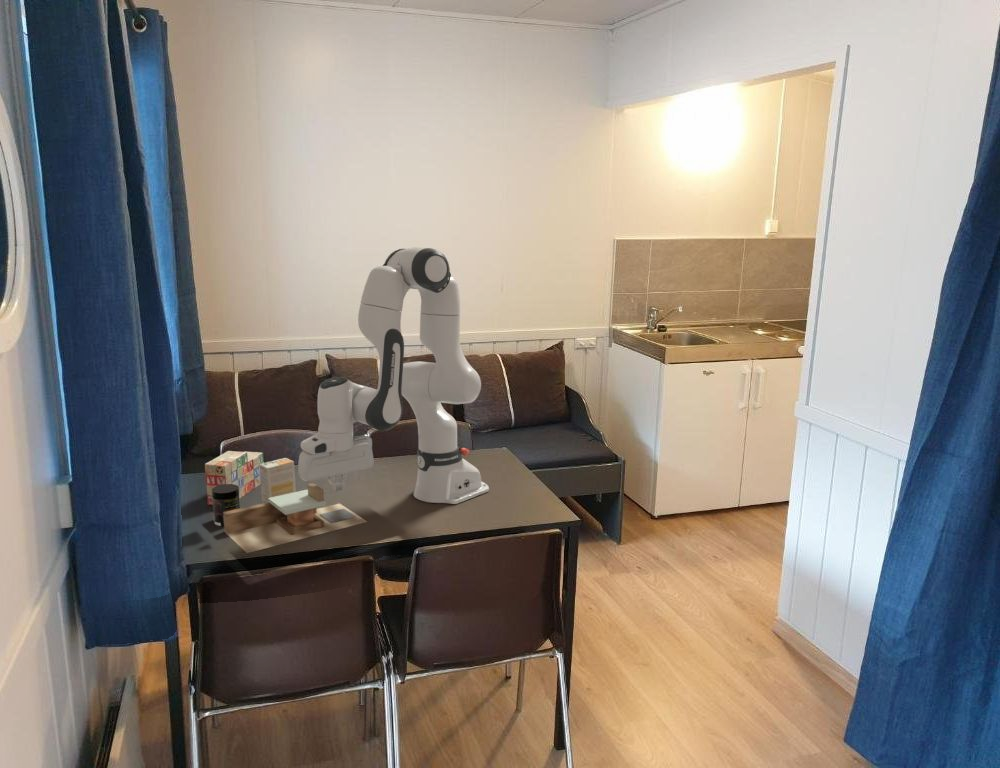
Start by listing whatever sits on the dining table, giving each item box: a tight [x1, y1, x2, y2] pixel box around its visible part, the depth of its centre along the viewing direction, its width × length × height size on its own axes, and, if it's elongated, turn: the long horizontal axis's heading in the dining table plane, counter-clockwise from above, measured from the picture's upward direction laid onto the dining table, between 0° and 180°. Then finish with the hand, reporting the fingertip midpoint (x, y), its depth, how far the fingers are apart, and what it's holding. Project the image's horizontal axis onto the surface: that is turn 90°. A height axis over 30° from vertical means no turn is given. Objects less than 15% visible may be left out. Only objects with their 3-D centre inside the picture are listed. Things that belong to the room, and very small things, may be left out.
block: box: [287, 509, 314, 527], centre depth 200 cm, size 5×5×5 cm
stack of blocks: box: [204, 450, 265, 506], centre depth 226 cm, size 21×6×12 cm, turn 168°
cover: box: [268, 482, 327, 515], centre depth 200 cm, size 11×11×4 cm
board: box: [223, 502, 368, 554], centre depth 200 cm, size 32×16×7 cm, turn 128°
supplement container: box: [212, 484, 241, 527], centre depth 202 cm, size 7×7×10 cm
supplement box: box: [259, 457, 297, 504], centre depth 215 cm, size 8×5×13 cm, turn 134°
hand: (337, 490), depth 206 cm, fingers closed
